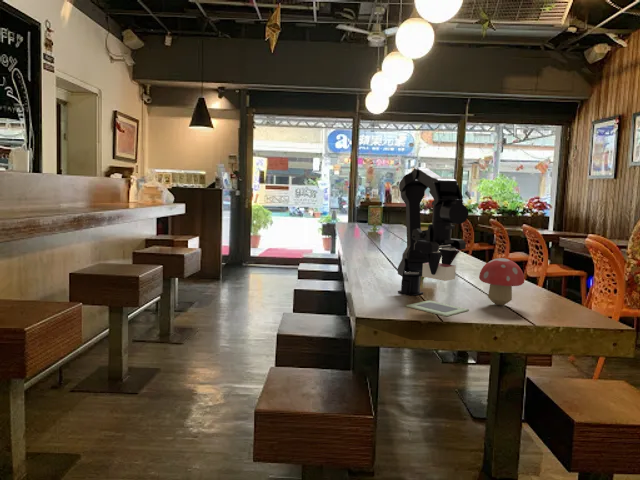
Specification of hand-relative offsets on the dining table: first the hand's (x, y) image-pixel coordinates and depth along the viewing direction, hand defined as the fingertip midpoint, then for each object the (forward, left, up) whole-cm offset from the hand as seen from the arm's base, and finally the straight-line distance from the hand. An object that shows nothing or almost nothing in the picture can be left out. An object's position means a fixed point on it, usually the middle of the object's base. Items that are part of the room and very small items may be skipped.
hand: (438, 273), depth 148 cm
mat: (0, 0, -11) cm, 11 cm away
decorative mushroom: (-21, +9, -11) cm, 25 cm away
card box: (0, 0, -1) cm, 1 cm away
